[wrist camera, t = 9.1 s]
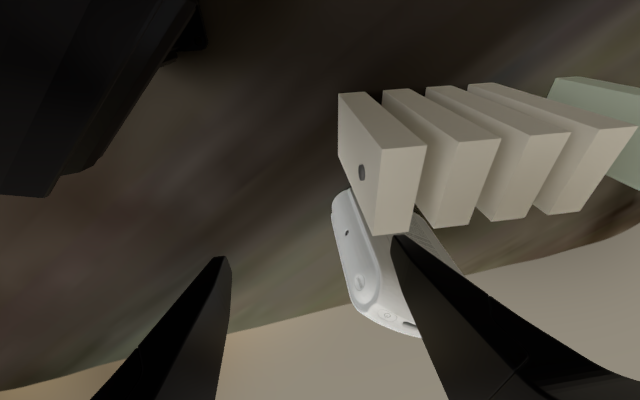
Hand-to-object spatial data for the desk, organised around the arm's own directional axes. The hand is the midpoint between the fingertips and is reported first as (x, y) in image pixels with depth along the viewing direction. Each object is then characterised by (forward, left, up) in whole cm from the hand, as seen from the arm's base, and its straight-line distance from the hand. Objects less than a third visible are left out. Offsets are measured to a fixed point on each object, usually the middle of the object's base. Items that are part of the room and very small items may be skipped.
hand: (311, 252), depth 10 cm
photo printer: (+9, +7, -13) cm, 18 cm away
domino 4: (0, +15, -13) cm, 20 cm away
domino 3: (0, +11, -13) cm, 17 cm away
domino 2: (0, +8, -13) cm, 15 cm away
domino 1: (0, +4, -13) cm, 14 cm away
